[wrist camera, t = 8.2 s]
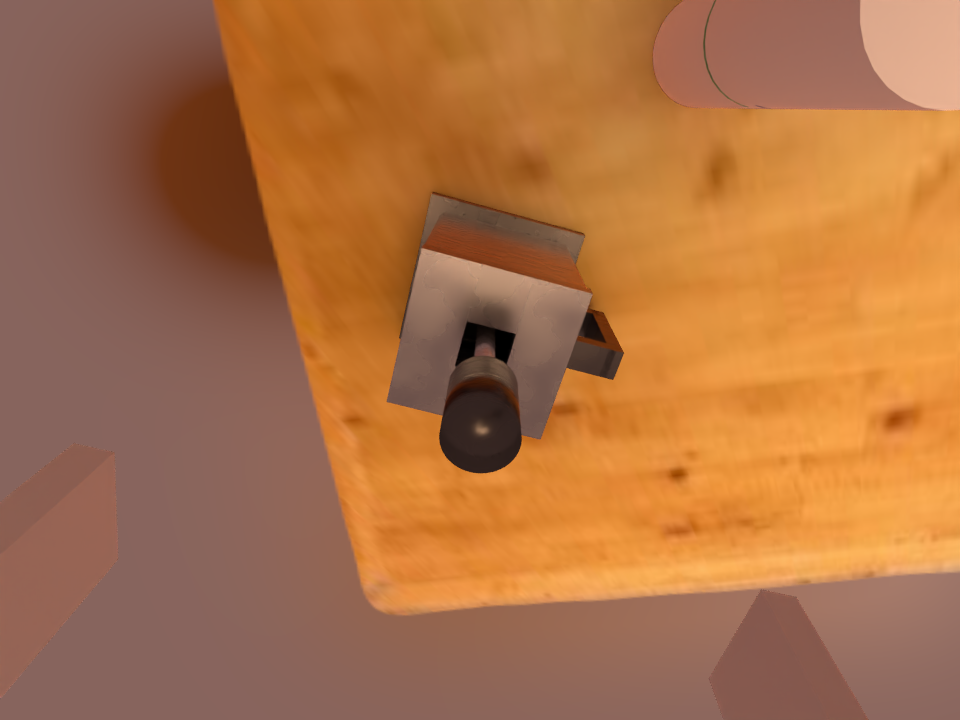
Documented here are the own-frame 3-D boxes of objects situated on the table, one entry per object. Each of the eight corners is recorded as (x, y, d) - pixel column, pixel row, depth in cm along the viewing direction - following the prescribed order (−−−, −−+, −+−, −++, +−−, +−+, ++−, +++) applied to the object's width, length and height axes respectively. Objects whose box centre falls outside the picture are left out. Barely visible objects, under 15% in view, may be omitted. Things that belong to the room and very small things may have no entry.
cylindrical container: (745, 110, 41) (1057, 115, 18) (645, 105, 41) (829, 104, 18) (770, -8, 38) (1177, -177, 15) (662, -13, 38) (907, -189, 15)
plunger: (550, 257, 44) (595, 383, 24) (521, 348, 47) (539, 527, 27) (451, 230, 43) (412, 336, 23) (428, 324, 46) (376, 489, 27)
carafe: (619, 243, 45) (665, 295, 33) (570, 377, 50) (594, 466, 38) (432, 192, 44) (407, 225, 32) (400, 333, 49) (368, 411, 36)
